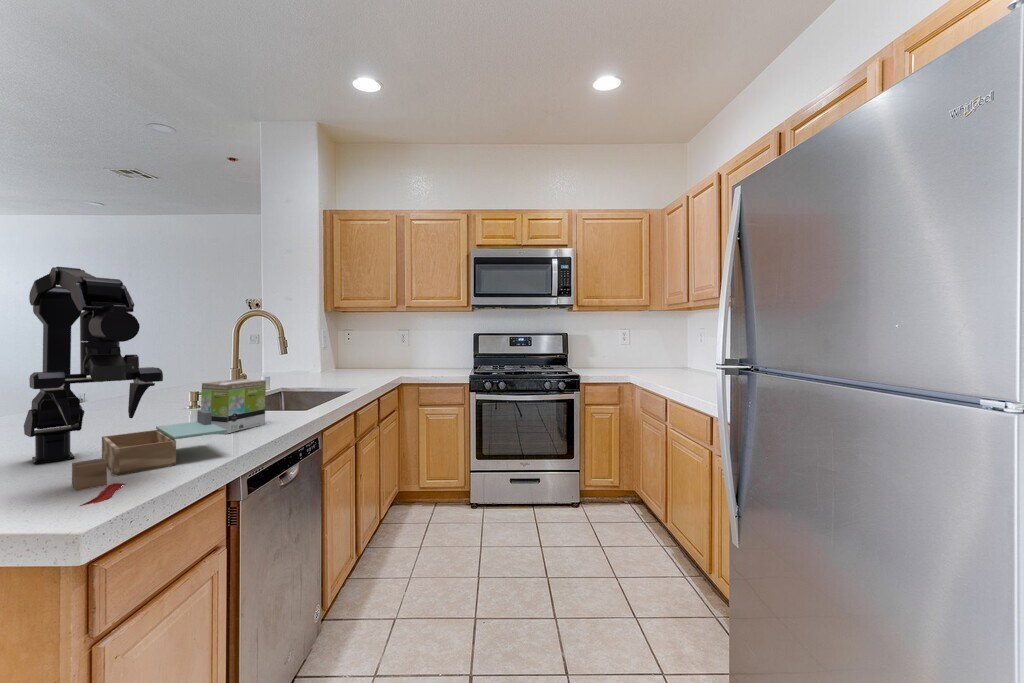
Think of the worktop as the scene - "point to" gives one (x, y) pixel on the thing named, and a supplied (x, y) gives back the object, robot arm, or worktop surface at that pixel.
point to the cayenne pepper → (105, 493)
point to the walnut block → (89, 474)
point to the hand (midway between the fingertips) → (101, 421)
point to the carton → (138, 451)
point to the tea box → (235, 403)
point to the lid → (192, 427)
